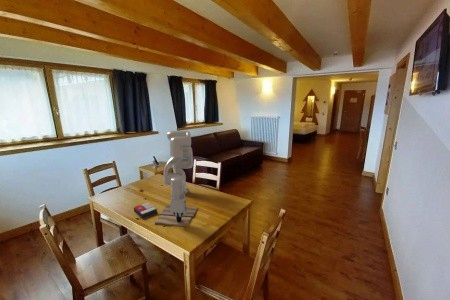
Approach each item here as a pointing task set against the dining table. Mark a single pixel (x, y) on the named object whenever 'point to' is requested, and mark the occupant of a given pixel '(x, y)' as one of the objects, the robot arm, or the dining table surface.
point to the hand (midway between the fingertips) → (179, 221)
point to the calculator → (145, 210)
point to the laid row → (190, 213)
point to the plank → (172, 221)
